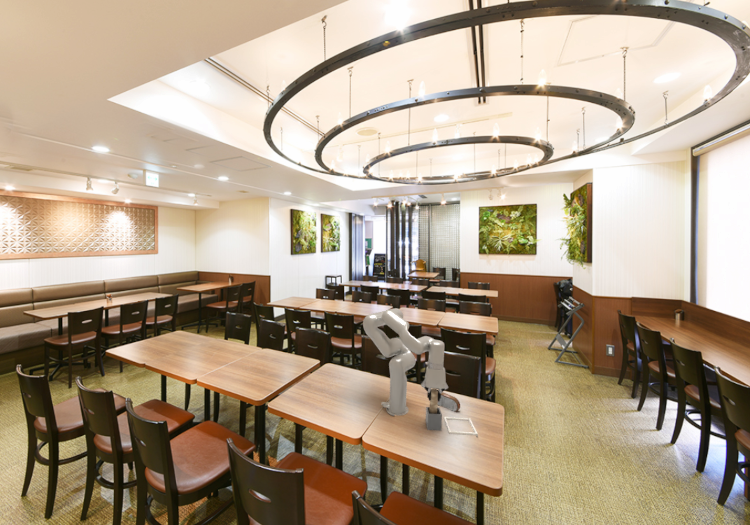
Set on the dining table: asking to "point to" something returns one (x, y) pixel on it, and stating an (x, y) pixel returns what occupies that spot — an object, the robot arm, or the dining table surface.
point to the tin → (449, 402)
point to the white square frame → (461, 432)
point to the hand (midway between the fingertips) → (433, 399)
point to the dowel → (433, 401)
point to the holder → (433, 420)
